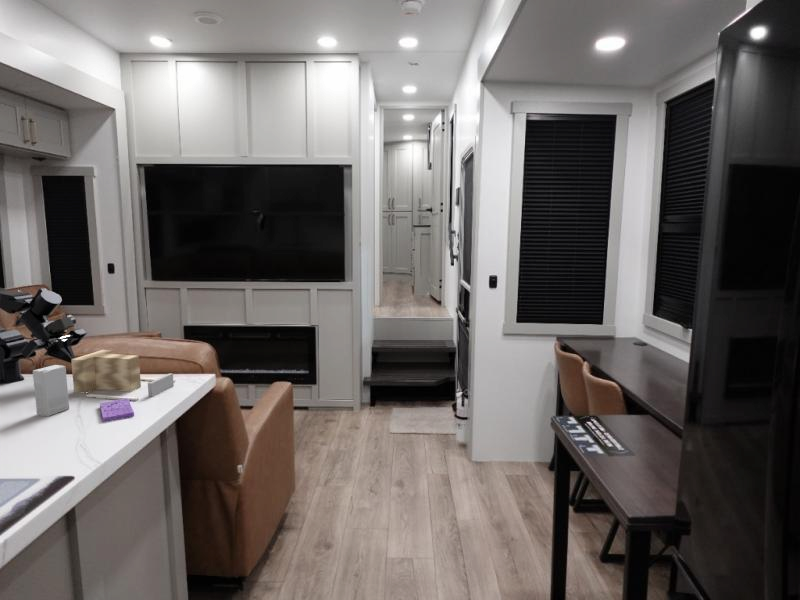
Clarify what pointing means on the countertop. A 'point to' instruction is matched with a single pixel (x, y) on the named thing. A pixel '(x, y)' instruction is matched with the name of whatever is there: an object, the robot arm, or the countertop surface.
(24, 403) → the countertop surface
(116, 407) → the sponges
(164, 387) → the tray
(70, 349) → the robot arm
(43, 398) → the skincare box
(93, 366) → the t block
